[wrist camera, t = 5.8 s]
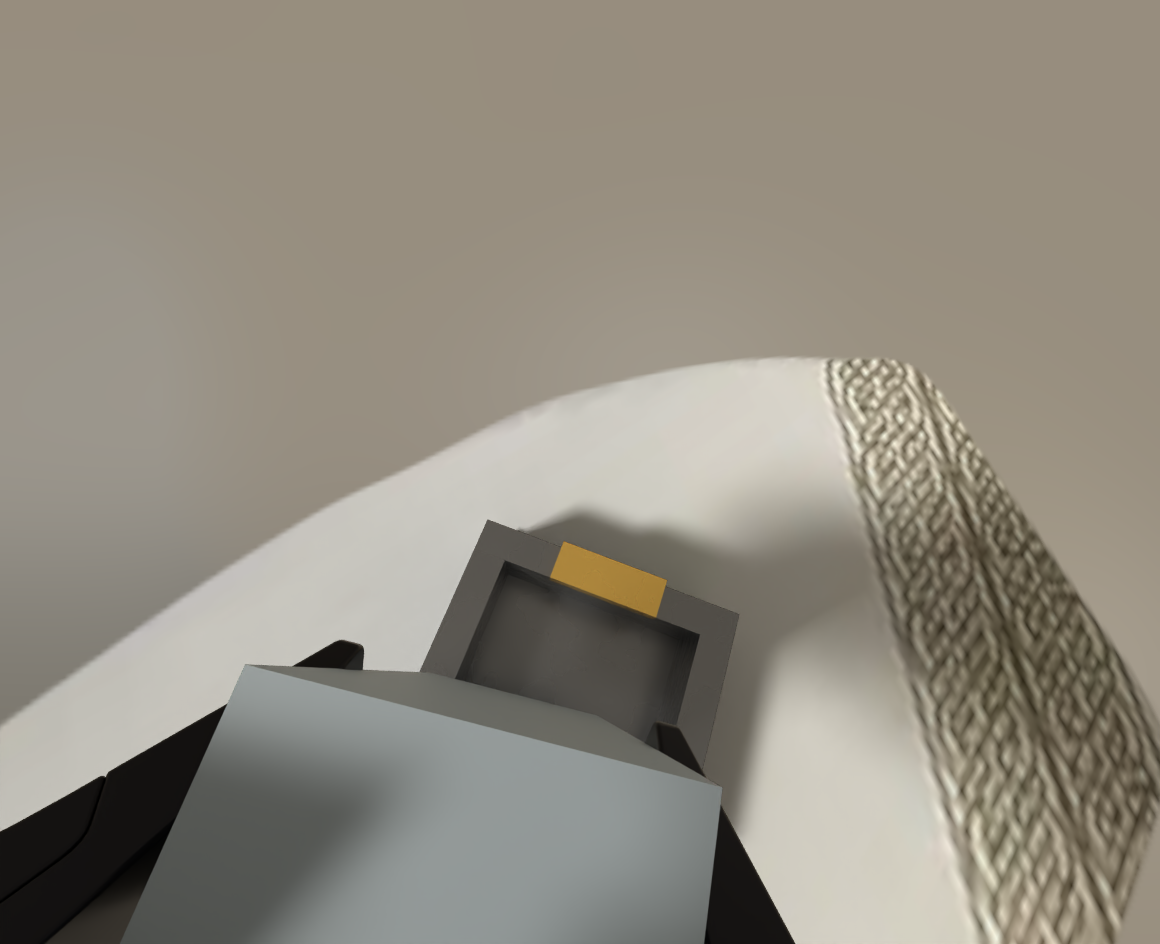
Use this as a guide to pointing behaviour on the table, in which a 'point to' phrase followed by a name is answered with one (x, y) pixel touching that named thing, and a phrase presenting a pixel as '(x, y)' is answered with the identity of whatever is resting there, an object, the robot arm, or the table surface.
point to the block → (427, 822)
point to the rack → (585, 636)
